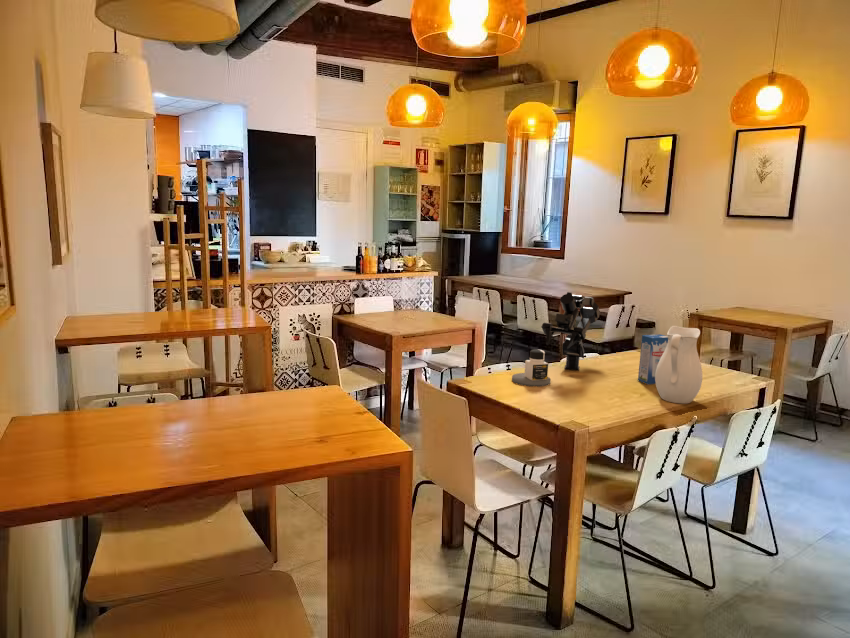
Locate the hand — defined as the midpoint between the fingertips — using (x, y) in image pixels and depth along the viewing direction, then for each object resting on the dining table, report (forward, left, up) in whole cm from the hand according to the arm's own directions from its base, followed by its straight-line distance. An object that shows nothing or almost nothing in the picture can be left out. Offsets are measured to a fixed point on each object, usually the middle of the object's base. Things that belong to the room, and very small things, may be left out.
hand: (556, 346), depth 270 cm
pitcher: (+19, +46, -14) cm, 52 cm away
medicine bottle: (+11, -7, -12) cm, 18 cm away
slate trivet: (+11, -9, -14) cm, 20 cm away
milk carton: (-9, +40, -14) cm, 44 cm away
